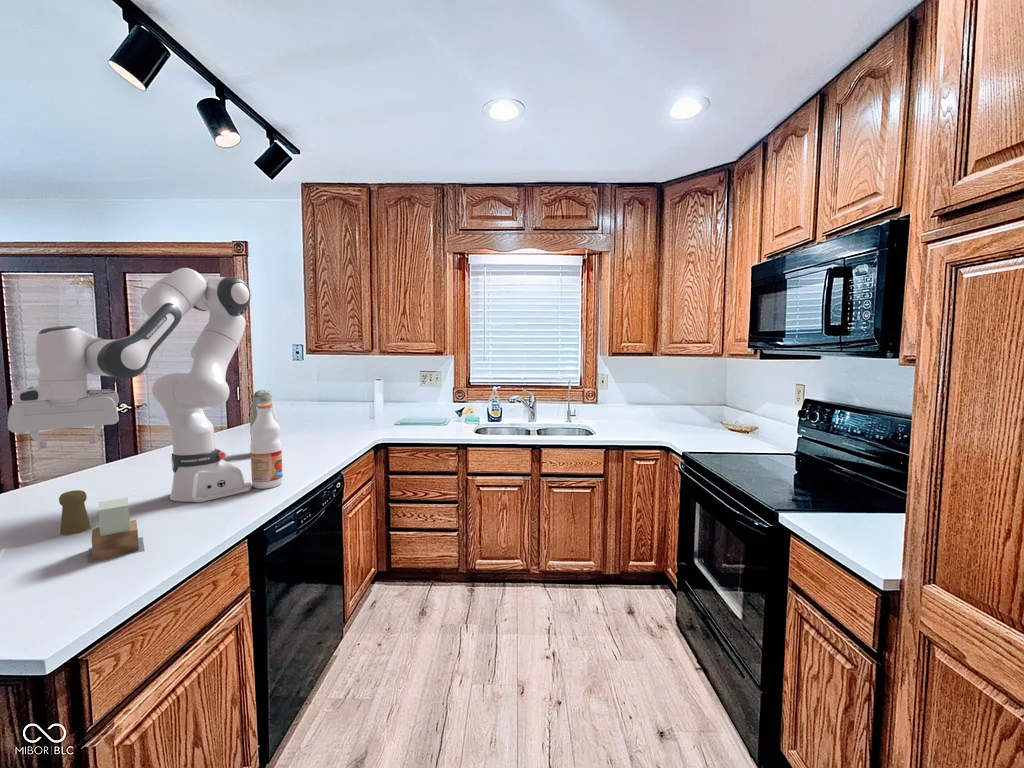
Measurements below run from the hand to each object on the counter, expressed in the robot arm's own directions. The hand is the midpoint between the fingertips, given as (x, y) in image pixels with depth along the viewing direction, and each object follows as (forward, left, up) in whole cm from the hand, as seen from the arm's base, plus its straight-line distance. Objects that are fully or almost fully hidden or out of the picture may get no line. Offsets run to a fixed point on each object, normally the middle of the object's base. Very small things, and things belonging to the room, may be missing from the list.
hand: (68, 445), depth 119 cm
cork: (0, 0, -23) cm, 23 cm away
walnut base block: (-8, +21, -22) cm, 31 cm away
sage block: (-8, +21, -17) cm, 28 cm away
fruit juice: (-48, -13, -23) cm, 55 cm away
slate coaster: (-8, +21, -23) cm, 32 cm away
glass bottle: (-58, -61, -23) cm, 87 cm away
